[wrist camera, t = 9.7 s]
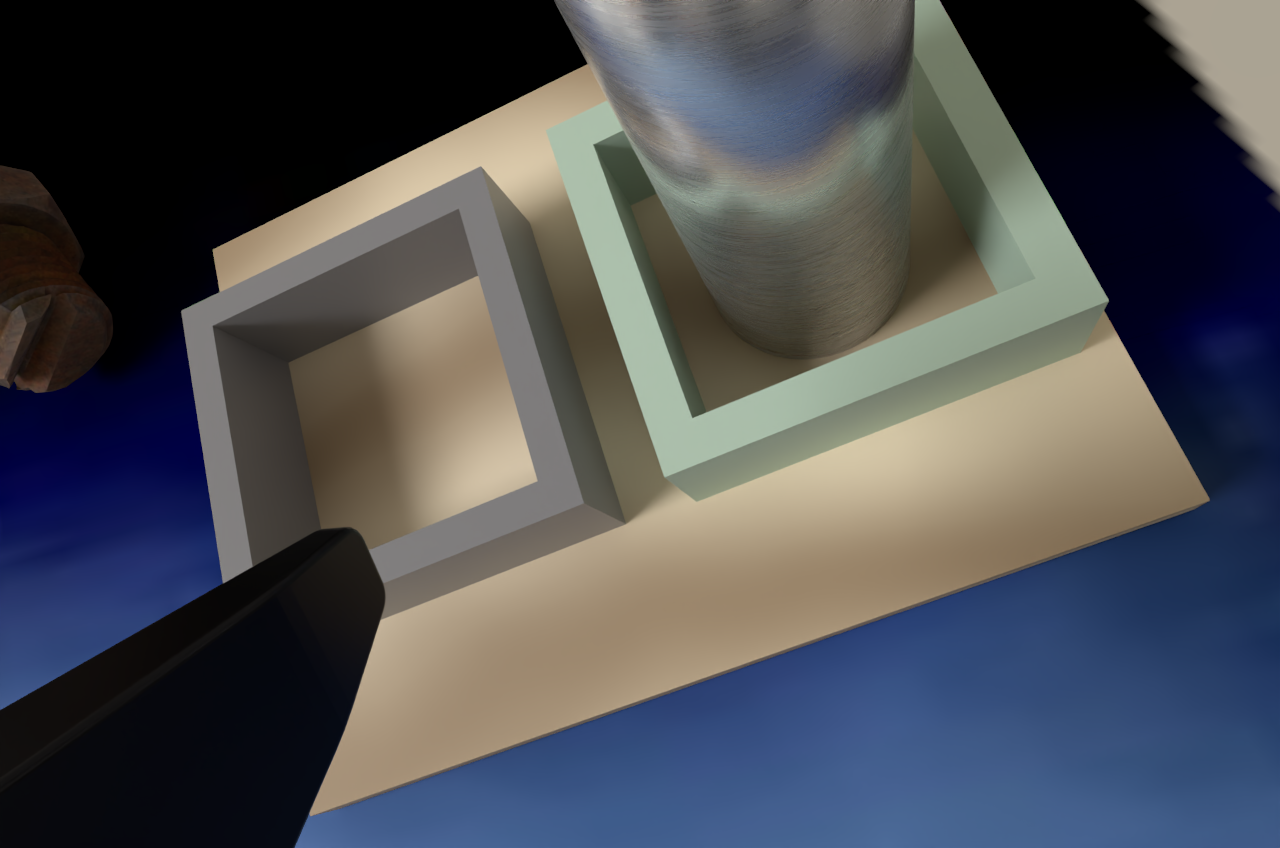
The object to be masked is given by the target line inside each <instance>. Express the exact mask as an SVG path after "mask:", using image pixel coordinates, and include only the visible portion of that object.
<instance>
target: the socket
mask: <svg viewBox="0 0 1280 848" xmlns="http://www.w3.org/2000/svg"><path fill="white" fill-rule="evenodd" d="M913 130H914V132H915V134H916V136H917V138H918V140H919V142H920V144H921V146H922V148H923V150H924V152H925V153H926V155H927V157H928V159H929V161H930V163H931V165H932V167H933V169H934V171H935V173H936V175H937V177H938V179H939V181H940V182H941V184H942V186H943V188H944V190H945V192H946V194H947V196H948V198H949V200H950V202H951V204H952V206H953V208H954V210H955V211H956V213H957V215H958V217H959V219H960V221H961V223H962V225H963V227H964V229H965V231H966V233H967V235H968V237H969V239H970V240H971V242H972V244H973V246H974V248H975V250H976V252H977V254H978V256H979V258H980V260H981V262H982V264H983V266H984V268H985V269H986V271H987V273H988V275H989V277H990V279H991V281H992V283H993V285H994V287H995V289H996V291H997V293H998V294H996V295H994V296H991V297H989V298H986V299H984V300H981V301H979V302H976V303H974V304H972V305H969V306H967V307H964V308H962V309H959V310H957V311H954V312H952V313H949V314H947V315H945V316H942V317H940V318H937V319H935V320H932V321H930V322H927V323H925V324H922V325H920V326H918V327H915V328H913V329H910V330H908V331H905V332H903V333H900V334H898V335H895V336H893V337H891V338H888V339H886V340H883V341H881V342H878V343H876V344H873V345H871V346H868V347H866V348H864V349H861V350H859V351H856V352H854V353H851V354H849V355H846V356H844V357H841V358H839V359H837V360H834V361H832V362H829V363H827V364H824V365H822V366H819V367H817V368H814V369H812V370H810V371H807V372H805V373H802V374H800V375H797V376H795V377H792V378H790V379H787V380H785V381H783V382H780V383H778V384H775V385H773V386H770V387H768V388H765V389H763V390H760V391H758V392H756V393H753V394H751V395H748V396H746V397H743V398H741V399H738V400H736V401H734V402H731V403H729V404H726V405H724V406H721V407H719V408H716V409H714V410H711V411H709V412H706V409H705V406H704V404H703V401H702V398H701V396H700V393H699V390H698V387H697V385H696V382H695V379H694V377H693V374H692V371H691V368H690V366H689V363H688V360H687V358H686V355H685V352H684V349H683V347H682V344H681V341H680V339H679V336H678V333H677V330H676V328H675V325H674V322H673V320H672V317H671V314H670V311H669V309H668V306H667V303H666V301H665V298H664V295H663V293H662V290H661V287H660V284H659V282H658V279H657V276H656V274H655V271H654V268H653V265H652V263H651V260H650V257H649V255H648V252H647V249H646V246H645V244H644V241H643V238H642V236H641V233H640V230H639V227H638V225H637V222H636V219H635V217H634V214H633V211H632V208H631V205H633V204H635V203H637V202H640V201H642V200H644V199H646V198H648V197H650V196H653V195H655V194H657V193H656V191H655V189H654V187H653V185H652V184H651V182H650V180H649V178H648V176H647V174H646V172H645V170H644V168H643V167H642V165H641V163H640V161H639V159H638V157H637V155H636V153H635V152H634V150H633V148H632V146H631V144H630V142H629V140H628V138H627V136H626V135H625V133H624V131H623V129H622V127H621V125H620V123H619V121H618V119H617V118H616V116H615V114H614V112H613V110H612V108H611V106H610V104H609V103H608V101H605V102H603V103H601V104H599V105H597V106H595V107H593V108H590V109H588V110H586V111H584V112H582V113H580V114H578V115H576V116H574V117H572V118H570V119H568V120H566V121H564V122H562V123H559V124H557V125H555V126H553V127H551V128H549V129H547V130H546V132H547V135H548V138H549V141H550V144H551V147H552V150H553V153H554V156H555V159H556V162H557V165H558V168H559V171H560V173H561V176H562V179H563V182H564V185H565V188H566V191H567V194H568V197H569V200H570V203H571V206H572V209H573V211H574V214H575V217H576V220H577V223H578V226H579V229H580V232H581V235H582V238H583V241H584V244H585V247H586V250H587V252H588V255H589V258H590V261H591V264H592V267H593V270H594V273H595V276H596V279H597V282H598V285H599V288H600V290H601V293H602V296H603V299H604V302H605V305H606V308H607V311H608V314H609V317H610V320H611V323H612V326H613V329H614V331H615V334H616V337H617V340H618V343H619V346H620V349H621V352H622V355H623V358H624V361H625V364H626V367H627V369H628V372H629V375H630V378H631V381H632V384H633V387H634V390H635V393H636V396H637V399H638V402H639V405H640V408H641V410H642V413H643V416H644V419H645V422H646V425H647V428H648V431H649V434H650V437H651V440H652V443H653V446H654V449H655V451H656V454H657V457H658V460H659V463H660V466H661V469H662V472H663V475H664V477H665V478H666V479H667V480H668V481H670V482H671V483H672V484H674V485H675V486H676V487H678V488H679V489H680V490H682V491H683V492H684V493H686V494H687V495H688V496H690V497H691V498H692V499H694V500H695V501H696V502H698V501H700V500H703V499H706V498H708V497H711V496H713V495H716V494H718V493H721V492H724V491H726V490H729V489H731V488H734V487H736V486H739V485H742V484H744V483H747V482H749V481H752V480H754V479H757V478H760V477H762V476H765V475H767V474H770V473H772V472H775V471H777V470H780V469H783V468H785V467H788V466H790V465H793V464H795V463H798V462H801V461H803V460H806V459H808V458H811V457H813V456H816V455H819V454H821V453H824V452H826V451H829V450H831V449H834V448H837V447H839V446H842V445H844V444H847V443H849V442H852V441H855V440H857V439H860V438H862V437H865V436H867V435H870V434H873V433H875V432H878V431H880V430H883V429H885V428H888V427H891V426H893V425H896V424H898V423H901V422H903V421H906V420H909V419H911V418H914V417H916V416H919V415H921V414H924V413H927V412H929V411H932V410H934V409H937V408H939V407H942V406H945V405H947V404H950V403H952V402H955V401H957V400H960V399H963V398H965V397H968V396H970V395H973V394H975V393H978V392H980V391H983V390H986V389H988V388H991V387H993V386H996V385H998V384H1001V383H1004V382H1006V381H1009V380H1011V379H1014V378H1016V377H1019V376H1022V375H1024V374H1027V373H1029V372H1032V371H1034V370H1037V369H1040V368H1042V367H1045V366H1047V365H1050V364H1052V363H1055V362H1058V361H1060V360H1063V359H1065V358H1068V357H1070V356H1073V355H1076V354H1078V353H1081V351H1082V349H1083V347H1084V345H1085V344H1086V342H1087V340H1088V338H1089V336H1090V335H1091V333H1092V331H1093V329H1094V327H1095V325H1096V324H1097V322H1098V320H1099V318H1100V316H1101V315H1102V313H1103V311H1104V309H1105V307H1106V305H1107V304H1108V302H1109V300H1108V298H1107V296H1106V294H1105V293H1104V291H1103V289H1102V287H1101V286H1100V284H1099V282H1098V280H1097V278H1096V277H1095V275H1094V273H1093V271H1092V270H1091V268H1090V266H1089V264H1088V263H1087V261H1086V259H1085V257H1084V255H1083V254H1082V252H1081V250H1080V248H1079V247H1078V245H1077V243H1076V241H1075V240H1074V238H1073V236H1072V234H1071V232H1070V231H1069V229H1068V227H1067V225H1066V224H1065V222H1064V220H1063V218H1062V217H1061V215H1060V213H1059V211H1058V209H1057V208H1056V206H1055V204H1054V202H1053V201H1052V199H1051V197H1050V195H1049V194H1048V192H1047V190H1046V188H1045V186H1044V185H1043V183H1042V181H1041V179H1040V178H1039V176H1038V174H1037V172H1036V170H1035V169H1034V167H1033V165H1032V163H1031V162H1030V160H1029V158H1028V156H1027V155H1026V153H1025V151H1024V149H1023V147H1022V146H1021V144H1020V142H1019V140H1018V139H1017V137H1016V135H1015V133H1014V132H1013V130H1012V128H1011V126H1010V124H1009V123H1008V121H1007V119H1006V117H1005V116H1004V114H1003V112H1002V110H1001V109H1000V107H999V105H998V103H997V101H996V100H995V98H994V96H993V94H992V93H991V91H990V89H989V87H988V85H987V84H986V82H985V80H984V78H983V77H982V75H981V73H980V71H979V70H978V68H977V66H976V64H975V62H974V61H973V59H972V57H971V55H970V54H969V52H968V50H967V48H966V47H965V45H964V43H963V41H962V39H961V38H960V36H959V34H958V32H957V31H956V29H955V27H954V25H953V24H952V22H951V20H950V18H949V16H948V15H947V13H946V11H945V9H944V8H943V6H942V4H941V2H940V1H939V0H915V25H914V77H913Z"/></svg>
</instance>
